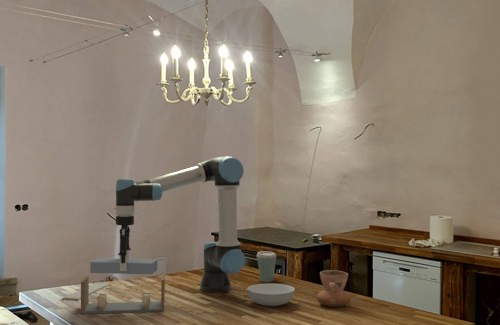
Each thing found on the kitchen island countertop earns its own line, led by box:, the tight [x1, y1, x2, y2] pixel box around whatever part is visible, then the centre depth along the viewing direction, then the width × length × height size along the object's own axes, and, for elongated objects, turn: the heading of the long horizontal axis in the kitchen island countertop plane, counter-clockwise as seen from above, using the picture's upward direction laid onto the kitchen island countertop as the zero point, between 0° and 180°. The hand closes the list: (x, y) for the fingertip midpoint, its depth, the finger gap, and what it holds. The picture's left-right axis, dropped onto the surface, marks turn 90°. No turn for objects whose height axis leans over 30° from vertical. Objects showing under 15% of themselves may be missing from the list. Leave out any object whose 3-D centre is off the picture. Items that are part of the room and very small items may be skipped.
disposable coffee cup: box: [256, 250, 277, 283], centre depth 271 cm, size 11×11×15 cm
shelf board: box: [89, 257, 158, 275], centre depth 217 cm, size 9×26×4 cm, turn 86°
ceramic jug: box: [316, 269, 351, 308], centre depth 226 cm, size 18×14×14 cm
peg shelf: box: [80, 273, 166, 315], centre depth 217 cm, size 12×33×13 cm, turn 99°
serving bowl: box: [247, 283, 296, 307], centre depth 227 cm, size 21×21×7 cm
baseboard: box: [60, 279, 110, 301], centre depth 246 cm, size 30×3×10 cm
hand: (124, 268), depth 217 cm, fingers closed on shelf board, 10 cm apart
